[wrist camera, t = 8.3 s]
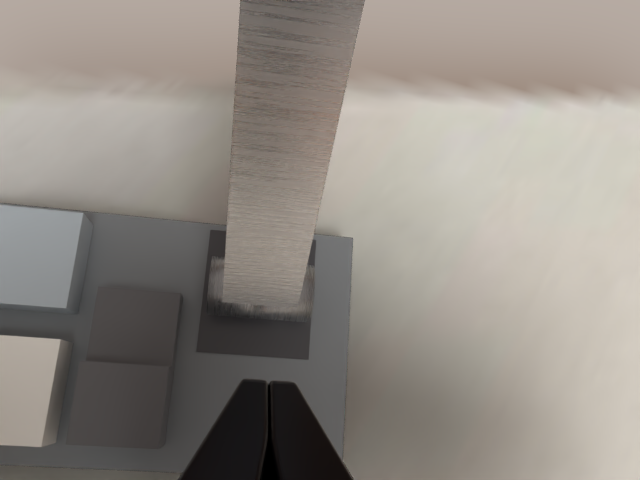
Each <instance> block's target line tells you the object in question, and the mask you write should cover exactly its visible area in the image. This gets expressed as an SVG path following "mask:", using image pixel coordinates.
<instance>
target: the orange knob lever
mask: <svg viewBox="0 0 640 480" xmlns="http://www.w3.org/2000/svg"><path fill="white" fill-rule="evenodd" d="M364 2H365V0H240V16H239V31H238V48H237V65H236V66H237V67H236V81H235V98H234V115H233V131H232V148H231V164H230V181H229V198H228V214H227V231H226V247H225V257H216V256H213V257H212V261H211V267H210V274H209V282H208V292H207V307H206V313H207V314H208V315H221V316H234V317H246V318H259V319H271V320H284V321H297V322H309V321H310V318H311V314H312V308H313V301H314V290H315V268H314V266H313V265H307V263H308V258H309V254H310V249H311V244H312V240H313V235H314V231H315V226H316V222H317V217H318V212H319V208H320V203H321V199H322V194H323V189H324V185H325V180H326V176H327V171H328V167H329V162H330V157H331V153H332V148H333V144H334V139H335V134H336V130H337V125H338V121H339V116H340V112H341V107H342V102H343V98H344V93H345V89H346V84H347V80H348V75H349V70H350V66H351V61H352V57H353V52H354V47H355V43H356V38H357V34H358V29H359V25H360V20H361V15H362V11H363V6H364Z"/></svg>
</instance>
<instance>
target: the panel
mask: <svg viewBox="0 0 640 480" xmlns="http://www.w3.org/2000/svg"><path fill="white" fill-rule="evenodd" d="M226 231H227V225H219V224H208V223H198V222H188V221H178V220H168V219H158V218H148V217H138V216H128V215H118V214H108V213H98V212H88V211H78V210H67V209H57V208H47V207H37V206H27V205H17V204H7V203H0V465H13V466H36V467H58V468H81V469H103V470H126V471H148V472H171V473H183V471H184V470H185V468H186V466H187V465H188V463H189V462H190V460H191V458H192V457H193V455H194V454H195V452H196V451H197V449H198V447H199V446H200V444H201V443H202V441H203V439H204V438H205V436H206V435H207V433H208V431H209V430H210V428H211V427H212V425H213V424H214V422H215V420H216V419H217V417H218V416H219V414H220V412H221V411H222V409H223V408H224V406H225V405H226V403H227V401H228V400H229V398H230V397H231V395H232V393H233V392H234V390H235V389H236V387H237V386H238V384H239V382H240V381H241V380H242V379H245V378H248V379H264V380H266V381H267V382H268V385H269V383H270V381H272V380H279V381H292V382H295V383H296V384H297V385H298V387H299V388H300V390H301V392H302V393H303V395H304V397H305V398H306V400H307V402H308V404H309V405H310V407H311V409H312V410H313V412H314V414H315V415H316V417H317V419H318V420H319V422H320V424H321V425H322V427H323V429H324V430H325V432H326V434H327V435H328V437H329V439H330V441H331V442H332V444H333V446H334V447H335V449H336V451H337V452H338V454H339V456H340V457H341V459H342V461H343V442H344V421H345V399H346V378H347V356H348V335H349V313H350V292H351V271H352V249H353V238H349V237H339V236H329V235H319V234H314V235H313V240H312V244H311V249H310V254H309V258H308V263H307V265H313V266H314V268H315V290H314V301H313V308H312V314H311V318H310V321H309V322H297V321H284V320H271V319H259V318H246V317H234V316H221V315H208V314H207V313H206V307H207V292H208V282H209V274H210V267H211V261H212V257H213V256H216V257H225V247H226Z"/></svg>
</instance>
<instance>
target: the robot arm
mask: <svg viewBox="0 0 640 480" xmlns="http://www.w3.org/2000/svg"><path fill="white" fill-rule="evenodd" d="M178 480H354V479H353V478H352V476H351V474H350V472H349V471H348V469H347V467H346V466H345V464H344V462H343V461H342V459H341V457H340V456H339V454H338V452H337V451H336V449H335V447H334V446H333V444H332V442H331V441H330V439H329V437H328V435H327V434H326V432H325V430H324V429H323V427H322V425H321V424H320V422H319V420H318V419H317V417H316V415H315V414H314V412H313V410H312V409H311V407H310V405H309V404H308V402H307V400H306V398H305V397H304V395H303V393H302V392H301V390H300V388H299V387H298V385H297V384H296V383H295V382H292V381H279V380H272V381H270V383H269V385H268V382H267V381H266V380H264V379H248V378H245V379H242V380H241V381H240V382H239V384H238V386H237V387H236V389H235V390H234V392H233V393H232V395H231V397H230V398H229V400H228V401H227V403H226V405H225V406H224V408H223V409H222V411H221V412H220V414H219V416H218V417H217V419H216V420H215V422H214V424H213V425H212V427H211V428H210V430H209V431H208V433H207V435H206V436H205V438H204V439H203V441H202V443H201V444H200V446H199V447H198V449H197V451H196V452H195V454H194V455H193V457H192V458H191V460H190V462H189V463H188V465H187V466H186V468H185V470H184V471H183V473H182V474H181V476H180V477H179V479H178Z"/></svg>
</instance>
